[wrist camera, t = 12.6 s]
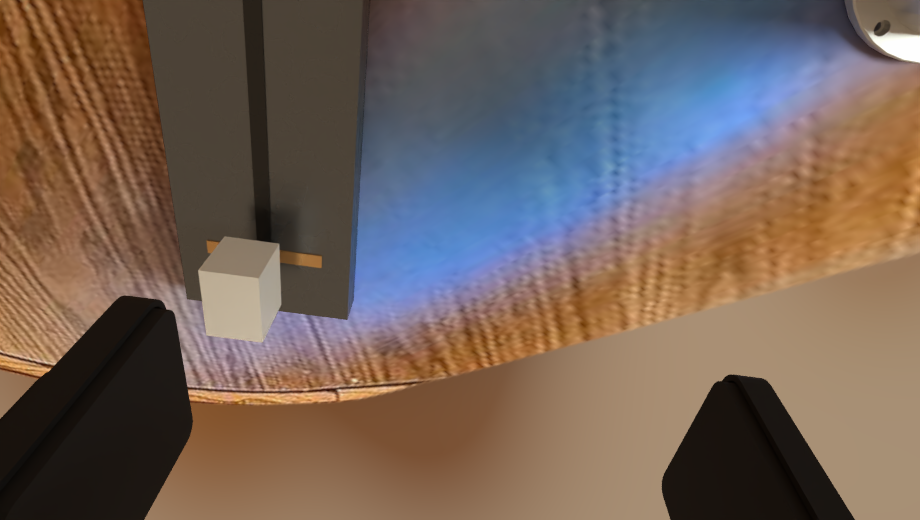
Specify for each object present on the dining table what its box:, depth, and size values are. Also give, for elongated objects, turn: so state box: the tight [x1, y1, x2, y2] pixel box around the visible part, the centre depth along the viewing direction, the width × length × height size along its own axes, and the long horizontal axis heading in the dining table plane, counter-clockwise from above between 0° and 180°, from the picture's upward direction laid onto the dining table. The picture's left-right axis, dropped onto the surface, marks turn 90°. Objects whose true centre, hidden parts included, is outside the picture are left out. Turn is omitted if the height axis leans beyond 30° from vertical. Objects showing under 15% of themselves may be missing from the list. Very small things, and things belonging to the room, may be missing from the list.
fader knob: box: [198, 236, 281, 342], centre depth 36 cm, size 5×4×6 cm
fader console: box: [143, 0, 370, 320], centre depth 35 cm, size 28×12×3 cm, turn 172°
